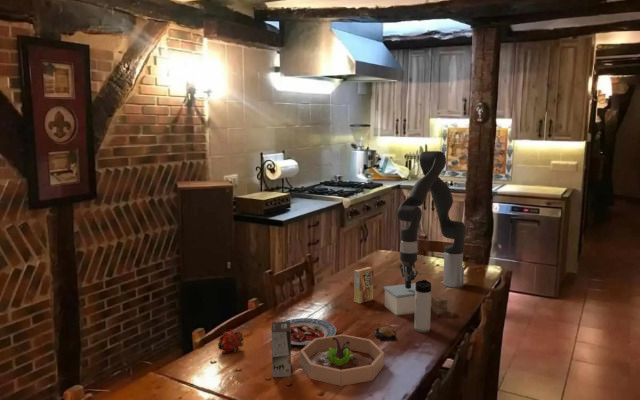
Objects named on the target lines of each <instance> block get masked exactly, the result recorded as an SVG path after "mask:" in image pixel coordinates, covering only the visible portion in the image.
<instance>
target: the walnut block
mask: <svg viewBox="0 0 640 400" xmlns="http://www.w3.org/2000/svg"><path fill="white" fill-rule="evenodd" d="M448 300H449V299H447V298H445V297H444V296H443V295H441V296H435V297H432V296H431V312H433V313H435V314H437V315H441V314H442V315H443V314H448V303H449V302H448Z"/></svg>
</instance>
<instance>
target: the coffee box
mask: <svg viewBox="0 0 640 400" xmlns="http://www.w3.org/2000/svg"><path fill="white" fill-rule="evenodd" d="M271 331H272V332H271V363H272V364H271V365H272V367H271V368H272V369H271V370H272V378H283V377H284V378H285V377H292V376H291V375H292V354H291V353H292V346H291V345H292V344H291V334H290V321H287V320H284V321H272V323H271Z"/></svg>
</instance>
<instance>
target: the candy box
mask: <svg viewBox="0 0 640 400" xmlns="http://www.w3.org/2000/svg"><path fill="white" fill-rule="evenodd" d="M353 272H354V276H353V277H354V283H353V285H354V286H353V287H354V288H353V293H354V294H353V301H354V302H355V303H357V304H363V303H366V302H369V301H372V300H374V268H372V267H370V266H367V267H362V268H359V269H354V271H353Z"/></svg>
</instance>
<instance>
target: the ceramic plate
mask: <svg viewBox="0 0 640 400" xmlns="http://www.w3.org/2000/svg"><path fill="white" fill-rule="evenodd" d="M286 321H290V334H291V345H293V346H295V345H296V346H306V345H308V344H309V343H310V342H311V341H312V340H314V339H315V338H322V337H329V336H335V335H337V328H336V326H335V325H334V324H333V323H330V322H328V321H325V320H324V319H318V318H312V317H310V318H309V317H308V318H307V317H301V318H293V319H292V318H291V319H288V320H286ZM270 333H272V330H271V332H270Z"/></svg>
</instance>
